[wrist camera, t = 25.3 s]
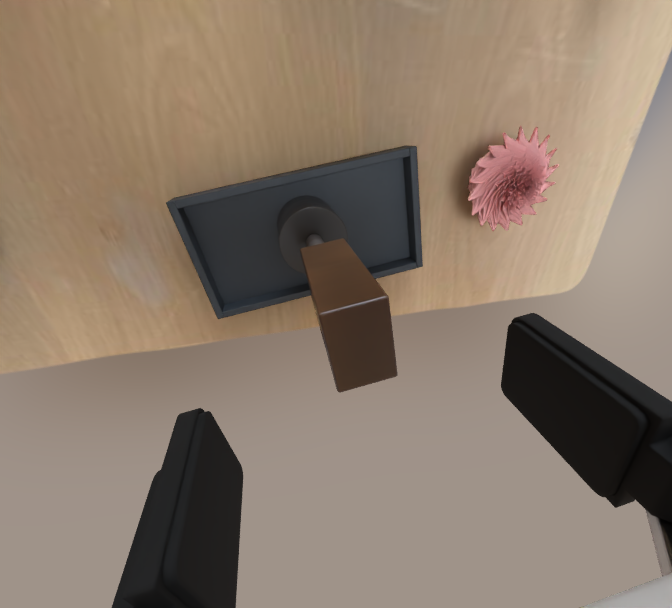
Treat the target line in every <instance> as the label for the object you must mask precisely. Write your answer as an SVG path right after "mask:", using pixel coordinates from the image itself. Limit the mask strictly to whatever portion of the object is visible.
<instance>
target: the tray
mask: <svg viewBox="0 0 672 608" xmlns="http://www.w3.org/2000/svg"><path fill="white" fill-rule="evenodd" d="M304 195H309V196H314V197H317V198H320V199H321V200H323V201H324V202H326V203H327V204H328V205H329V206H330V208H331V209H332V210H333V211H334V212H335V213H336V214H337V215H338V216H339V217H340V218H341V220H342V221H343V223H344V225H345V227H346V229H347V233H348V245H349V246H350V247H351V248H352V250H353V251H354V252H355V254H356V255H357V256H358V258H359V259H360V260H361V262H362V263H363V264H364V265H365V267H366V268H367V269H368V271H369V272H370V273H371V275H372V276H373V277H374V278H375V279H376V278H380V277H384V276H388V275H392V274H396V273H399V272H403V271H407V270H411V269H415V268H419V267H422V266H423V264H422V244H421V224H420V205H419V185H418V165H417V147H416V146H402V147H398V148H393V149H389V150H384V151H380V152H375V153H371V154H367V155H362V156H358V157H353V158H349V159H344V160H340V161H335V162H331V163H327V164H322V165H318V166H313V167H309V168H304V169H300V170H295V171H291V172H287V173H282V174H278V175H273V176H269V177H264V178H260V179H255V180H251V181H247V182H242V183H238V184H233V185H229V186H224V187H220V188H215V189H211V190H206V191H202V192H198V193H193V194H189V195H184V196H180V197H175V198H173V199H171V200H170V201H168V202H166V204H167V206H168V208H169V211H170V213H171V215H172V217H173V220H174V222H175V224H176V226H177V229H178V231H179V233H180V235H181V238H182V240H183V242H184V244H185V246H186V249H187V251H188V253H189V255H190V258H191V260H192V262H193V264H194V267H195V269H196V271H197V273H198V275H199V278H200V280H201V282H202V284H203V287H204V289H205V291H206V293H207V296H208V298H209V300H210V302H211V305H212V307H213V309H214V311H215V313H216V316H217V318H218V319H221V318H224V317H229V316H233V315H236V314H240V313H244V312H248V311H252V310H256V309H260V308H264V307H267V306H271V305H275V304H279V303H283V302H287V301H291V300H295V299H299V298H302V297H306V296H310V295H311V292H310V288H309V284H308V281H307V277H306V274H304V273H301V272H299V271H296V270H295V269H293V268H292V267H291V266H289V265H288V263H287V262H286V261H285V260H284V258H283V256H282V254H281V251H280V247H279V239H278V229H277V221H278V216H279V213H280V211H281V210H282V208H283V207H284V205H285V204H286V203H287V202H289V201H290V200H292V199H293V198H296V197H299V196H304Z"/></svg>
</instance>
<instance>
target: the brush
mask: <svg viewBox="0 0 672 608" xmlns="http://www.w3.org/2000/svg"><path fill="white" fill-rule="evenodd" d="M277 229H278V239H279V247H280V251H281V254H282V256H283V258H284V260H285V261H286V262H287V263H288V265H289V266H291V267H292V268H293V269H295V270H296V271H299V272H301V273H304V274H306V277H307V281H308V284H309V288H310V292H311V296H312V300H313V304H314V308H315V311H316V315H317V319H318V322H319V326H320V330H321V333H322V337H323V340H324V344H325V347H326V351H327V355H328V358H329V362H330V366H331V370H332V373H333V377H334V380H335V384H336V387H337V391H338V392H343V391H347V390H350V389H354V388H357V387H361V386H365V385H368V384H372V383H375V382H379V381H382V380H385V379H389V378H393V377H396V376H397V366H396V357H395V349H394V340H393V331H392V324H391V314H390V306H389V297H388V295H387V294H386V293H385V292H384V290H383V289H382V288H381V286H380V285H379V284H378V282H377V281H376V280H375V278H374V277H373V276H372V275H371V273H370V272H369V271H368V269H367V268H366V267H365V265H364V264H363V263H362V262H361V260H360V259H359V258H358V256H357V255H356V254H355V252H354V251H353V250H352V248H351V247H350V246H349V245H348V233H347V229H346V227H345V225H344V223H343V221H342V220H341V218H340V217H339V216H338V215H337V214H336V213H335V212H334V211H333V210H332V209H331V208H330V206H329V205H328V204H327V203H326V202H324V201H323V200H321V199H320V198H317V197H314V196H309V195H304V196H299V197H296V198H293V199H292V200H290V201H289V202H287V203H286V204H285V205H284V207H283V208H282V210H281V211H280V213H279V216H278V221H277Z"/></svg>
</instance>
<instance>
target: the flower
mask: <svg viewBox="0 0 672 608" xmlns="http://www.w3.org/2000/svg"><path fill="white" fill-rule="evenodd" d="M537 129H538V127H536V128H535V129H534V131H533V134H532V136H531V139H530V140H529V142H528V140H527V139H526V138H525V135H524V132H523V129H522V126H521V127H520V128H519V132H518V137H517V139H516V140H515V139H512V138H510V137H508V136H507V134H506V133H504V134H503V133H502V134H503V138H504V144H505V145H498V146H490V145H488V146H489V147H488V149H489V150H490V152H489V153H488V152H487V154H486V155H485V156H484V157H483V158H480V159H479V161H478V162H476V166H475V168H472V169H471V174H472V175H471V176H470V177H469V179H470V182H469V183H470V184H469V185H468V187H467V188H468V190H469V191H470V195H469V197H468V200H469V201H470V200H471V201H472V207H473V208H472V215H474V214H476V213H477V215H478V219H479V222H480V225H481V226H482V225H483V224H484V223H485V221H486V220H487V221H488V223H489V225H490V227H491V229H492V231H494V230H495V228H496V226H497V223H498V224H500V225H501V226H502V227H503V228H504V229H505V230H506V231H507V230H509V223H510V221H512V222H515V223H517V224H519V225H522V224H523V223H522V218H521V217H522V216H521V214H528V215H535V214H536V212H535V211H534V209H533V208H532V206H531V205H532V204H535V203H539V202H544V201H547V198H545V197H543V196H541V195H540V194H541V193H542V192H544V191H545V190H546V189H547V188H548V187H550V186H552V185H554V184H555V182H548V181H547V182H545V181H546V179H547V178H548V177H549V176H550V175H551V174H552V172H553V171H554V170H555V169H556V168H557V167H558V165H560V164H557V165H554V166H552V167H549V162H550V159H551V157H552V156H553V154H554V153H555V151H556V150H557V149H556V148H555V149H554V150H552V151H551V152H549V153H548V154H547V155H546V148H547V141H548V139H549V137H550V135H549V134H548V136H547V137H546V138H545V140H544V141H543V142H542V143H541V144H540V145H539V142H538V131H537ZM548 167H549V168H548Z"/></svg>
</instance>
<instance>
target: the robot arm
mask: <svg viewBox="0 0 672 608" xmlns="http://www.w3.org/2000/svg"><path fill="white" fill-rule="evenodd" d="M501 388H502V391H503V393H504V395H505V396H506V397H507V398H508V399H509V400H510V402H511V403H512V404H513V405H514V406H515V407H516V408H517V409H518V410H519V411H520V412H521V413H522V414H523V416H524V417H525V418H526V419H527V420H528V421H529V422H530V423H531V424H532V425H533V426H534V427H535V428H536V429H537V430H538V432H540V434H541V435H542V436H543V437H544V438H545V439H546V440H547V441H548V442H549V443H550V444H551V446H552V447H553V448H554V449H555V450H556V451H557V452H558V453H559V454H560V455H561V456H562V457H563V458H564V460H566V462H567V463H568V464H569V465H570V466H571V467H572V468H573V469H574V470H575V471H576V472H577V473H578V475H579V476H580V477H581V478H582V479H583V480H584V481H585V482H586V483H587V484H588V485H589V486H590V487H591V489H592V490H594V492H596V493H597V494H598V495H600V496H602V497H606V498H607V499H608V500H609V502H611V504H612V505H613V506H614V507H619V506H621V505H625V504H627V503H630V502H633V501H634V500H635V499H636V500H637V501H638V502H639V503H640V504H641V505H642V506H643V507H644V508H645V509H646V513H647V517H648V521H649V525H650V529H651V533H652V537H653V541H654V545H655V549H656V553H657V557H658V561H659V565H660V569H661V573H662V577H660V578H657V579H655V580H652V581H649V582H647V583H644V584H641V585H639V586H636V587H634V588H631V589H628V590H625V591H623V592H620V593H617V594H615V595H612V596H609V597H607V598H604V599H602V600H599V601H596V602H594V603H591V604H589V605H586V606H583V607H580V608H672V402H671V401H670V400H668V399H666V398H665V397H663V396H662V395H660V394H659V393H657V392H656V391H654V390H653V389H651V388H650V387H648V386H647V385H645V384H643V383H642V382H640V381H639V380H637V379H636V378H634V377H633V376H631V375H630V374H628V373H627V372H625V371H624V370H622V369H620V368H619V367H617V366H616V365H614V364H613V363H611V362H610V361H608V360H607V359H605V358H604V357H602V356H601V355H599V354H597V353H596V352H594V351H593V350H591V349H590V348H588V347H587V346H585V345H584V344H582V343H581V342H579V341H577V340H576V339H574V338H573V337H571V336H570V335H568V334H567V333H565V332H564V331H562V330H560V329H559V328H557V327H556V326H554V325H553V324H551V323H550V322H548V321H547V320H545V319H544V318H542V317H541V316H539V315H537V314H535V313H530V314H527V315H523V316H520V317H516V318H514V319H513V320H512V323H511V324H510V325H509V326H508V332H507V341H506V349H505V356H504V365H503V373H502V382H501ZM242 488H243V471H242V467H241V464H240V463H239V461H238V459H237V457H236V456H235V454H234V452H233V450H232V449H231V447H230V445H229V443H228V442H227V440H226V438H225V436H224V435H223V433H222V431H221V429H220V428H219V426H218V424H217V423H216V421H215V419H214V417H213V416H212V414H211V412H209V411H207V412H204V410H203V409H201V408H199V409H195V410H192V411H188V412H185V413H181V414H179V415H178V417H177V420H176V423H175V426H174V429H173V433H172V436H171V439H170V443H169V446H168V449H167V453H166V456H165V459H164V462H163V465H162V469H161V470H160V471H158V472H157V473H156V475H155V476H154V479H153V481H152V484H151V487H150V490H149V493H148V497H147V499H146V502H145V505H144V509H143V512H142V515H141V518H140V521H139V524H138V527H137V531H136V534H135V537H134V540H133V543H132V546H131V549H130V552H129V556H128V558H127V562H126V565H125V568H124V571H123V574H122V577H121V581H120V583H119V586H118V590H117V593H116V596H115V599H114V602H113V605H112V608H235V607H236V590H237V573H238V572H237V571H238V555H239V538H240V522H241V505H242Z"/></svg>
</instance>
